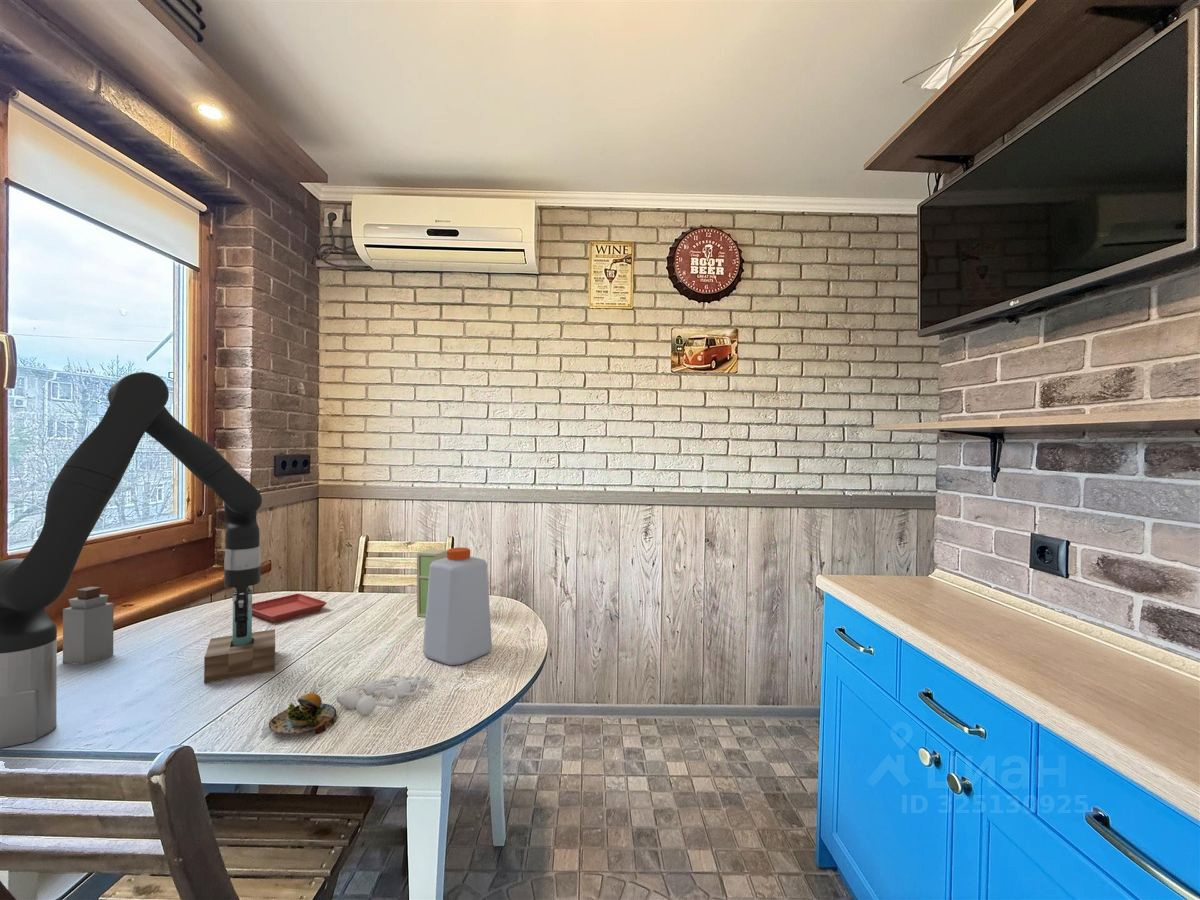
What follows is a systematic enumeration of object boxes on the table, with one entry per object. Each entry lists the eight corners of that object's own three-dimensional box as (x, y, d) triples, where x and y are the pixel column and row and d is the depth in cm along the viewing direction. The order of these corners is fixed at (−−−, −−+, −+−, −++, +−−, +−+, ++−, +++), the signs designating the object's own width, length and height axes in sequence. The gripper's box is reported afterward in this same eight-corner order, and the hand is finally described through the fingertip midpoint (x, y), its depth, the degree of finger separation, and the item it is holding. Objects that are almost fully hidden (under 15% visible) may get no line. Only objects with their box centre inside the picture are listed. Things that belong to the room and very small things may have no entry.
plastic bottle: (498, 650, 146) (499, 548, 146) (455, 669, 133) (456, 557, 133) (460, 639, 154) (461, 542, 154) (416, 656, 141) (416, 550, 141)
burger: (261, 725, 107) (262, 687, 107) (325, 705, 115) (325, 670, 115) (278, 749, 98) (278, 709, 98) (345, 726, 106) (346, 689, 106)
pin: (251, 654, 133) (251, 593, 133) (231, 657, 131) (232, 595, 131) (251, 648, 136) (252, 589, 136) (232, 651, 134) (233, 591, 134)
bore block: (274, 670, 131) (275, 646, 131) (204, 683, 124) (204, 657, 124) (275, 651, 143) (275, 629, 143) (210, 662, 136) (210, 638, 136)
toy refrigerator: (414, 617, 173) (415, 552, 173) (428, 610, 180) (428, 548, 180) (436, 619, 171) (436, 554, 171) (448, 613, 178) (449, 549, 178)
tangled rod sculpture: (403, 678, 131) (403, 661, 131) (443, 688, 123) (442, 670, 123) (326, 708, 115) (326, 688, 115) (366, 722, 107) (366, 701, 107)
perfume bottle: (83, 664, 133) (84, 592, 133) (62, 662, 135) (63, 591, 135) (113, 654, 140) (113, 586, 140) (92, 652, 141) (93, 584, 141)
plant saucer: (328, 611, 179) (328, 601, 179) (271, 626, 164) (271, 615, 164) (298, 602, 189) (298, 593, 189) (242, 615, 174) (242, 605, 174)
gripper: (259, 569, 129) (259, 640, 129) (261, 558, 141) (260, 623, 142) (221, 573, 125) (221, 646, 126) (226, 561, 138) (226, 628, 138)
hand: (242, 633), depth 134 cm, fingers closed on pin, 4 cm apart
